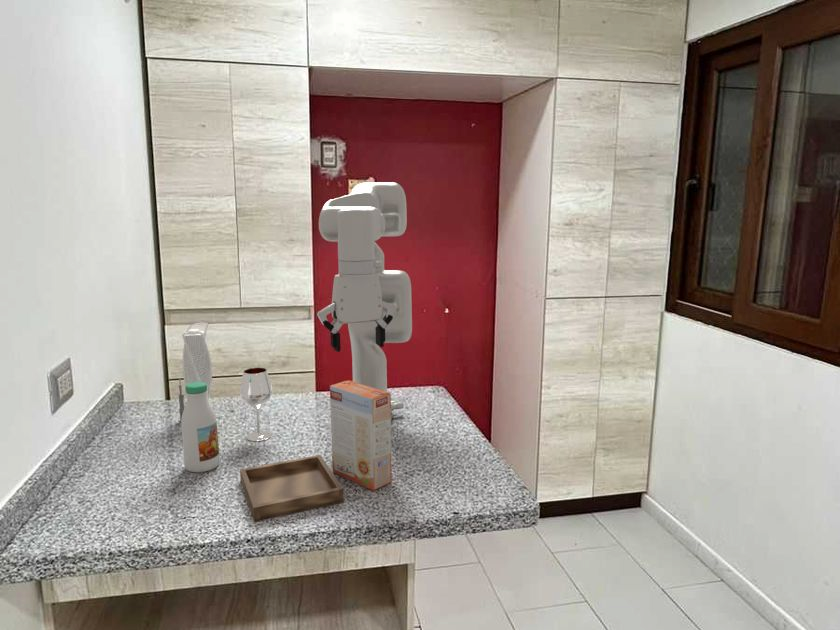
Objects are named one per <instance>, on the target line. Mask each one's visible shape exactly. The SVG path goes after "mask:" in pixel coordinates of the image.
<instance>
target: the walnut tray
mask: <svg viewBox="0 0 840 630" xmlns="http://www.w3.org/2000/svg"><path fill="white" fill-rule="evenodd" d="M239 473H240V474H239V475H240V483H241V486H242V490H243V492H244V495H245V498H246V501H247V505H248V508H249V510H250V514H251V516H252V519H253V520H252V521H253V522H254V523H257V522H261V521H267V520H269V519H275V518H279V517H280V518H281V517H283V516H287V515H292V514H293V515H294V514H297V513H302V512H307V511H311V510H315V509H320V508H325V507H329V506H333V505H337V504H342V503H345V500H344V498H345V497H344V496H345V494H344V488H343V486H342V485H341V483H340V481H339V480H338V479H337V477H336V476H335V474H334V472H333V470H331V468H330V466H329V465H328V464H327V462H326V461H325V459H324V458H323V456H322V455H321V454H317V455H311V456H307V457H301V458H295V459H290V460H285V461H284V460H283V461H279V462H274V463H268V464H263V465H256V466H252V467H251V466H250V467H247V468H242V469H241V468H240V469H239Z"/></svg>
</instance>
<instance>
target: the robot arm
mask: <svg viewBox="0 0 840 630" xmlns="http://www.w3.org/2000/svg"><path fill="white" fill-rule="evenodd" d="M407 211H408V210H407V197H406V193H405V190H404V188H403V186H401V185H400V184H399V183H397V182H362V183H358V184H356V185H355V186H354V187H353V188H352V189H351V190H350V193H349V194H347V195H343V196H340V197H336V198H334V199H329V200H328V201H326V202H325V203H324V205H323V206H322V208H321V211H320V213H319V218H318V231H319V234H320V235H321V237H322V239H324V240H325V241H327V242H337V259H338V262H337V263H338V274H335V275H334V276H333V277H334V278H333V285H332V295H331V304H329V305H327V306H325V307H324V308H322V309H320V310H319V311H317V313H316V316H317V317H318V319H319V321H320V322H321V325H323V326H324V327H325V328H326V329H327V330H328V331H329V333H330V347H331V348H332V349H333V351H335V352H337V353H340V352H341V349H342V348H341V333H340V332H339V331H340V329H341V327H342V326H344V324H347V327H348V328H347V329H348V334H349V339H350V346H351V348H350V349H351V358H352V359H351V360H352V361H351V362H352V363H351V364H352V367H351V368H352V381H353V382H356V383H359V384H362V385H366V386H369V387H372V388H376V389H379V390H382V391H385V392H388V378H387V377H388V376H387V375H388V373H387V372H388V371H387V367H388V366H387V357H386V354H385V352H384V350H383V349H382V348H384V345H385V344H390V343H391V344H399V343H407V342H408V341H410V339H411V337H412V333H413V315H412V313H413V311H412V309H413V308H412V306H413V305H412V283H411V278H410V276H409V274H408V273H407V272H406V271H404V270H399V269H396V270H395V269H392V270H391V269H387V270H386V269H385V253H384V252H383V249H381V247H380V246H379V245H378V244H377V242H376V241H378V240H380V239H381V238H382V237H400V236H402V235H403V234H404V233H406V232H405V231H406V229H407V223H408V222H407V221H408V218H407ZM329 314H331V317H332V319H333V321H332V322H330V321H329V320H328V318H327V316H328V315H329ZM401 409H402V410H403V409H404V403H403V401H398V402H396V400H391V421H392V419H393V416H394V413H393V412H394V410H401Z"/></svg>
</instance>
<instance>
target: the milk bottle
mask: <svg viewBox="0 0 840 630" xmlns="http://www.w3.org/2000/svg"><path fill="white" fill-rule="evenodd" d="M184 387H185V395H186V403H185V408H184V411H183V414H182V419H181V422H180V424H181V437H182V438H181V440H182V441H181V442H182V452H183V463H184V468H185V470H186V471H187V472H190V473H204V472H209V471H213V470H214V469H216V468H217V467H218V466H219V465H220V461H221V460H220V459H221V458H220V447H219V434H218V433H219V432H218V425H217V424H218V423H217V416H216V412H215V410H214V408H213V407H212V404H211V403H210V400H209V401H208V399H207V395H206V393H207V384H206V383H205V382H193V383H189V384H187V385H186V386H185V385H184Z"/></svg>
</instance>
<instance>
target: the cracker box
mask: <svg viewBox="0 0 840 630" xmlns="http://www.w3.org/2000/svg"><path fill="white" fill-rule="evenodd" d="M391 394H392V393H391V392H388V391H387V392H385V391H382V390H379V389H376V388H372V387H369V386H366V385H362V384H359V383H356V382H353V380H344V381H341V382H337V383H334V384H331V385H329V396H330V397H329V398H330V403H329V404H330V429H331V431H330V432H331V433H330V434H331V435H330V436H331V459H332V460H331V463H332V467H331V468H332V473H335V474H337V475H338V476H339V475H340V476H341V477H343V478H346V479H348V480H350V481H352V482H353V483H356V484H357V485H360V486H363V487H364V488H367V489H369V490H370V491H373V492H374V491H376V490H378V489H380V488H382V487H385V486H387V485H389V484H391V483H392V480H393V479H392V420H391V412H392V411H391V401H392V400H391V398H392V397H391Z"/></svg>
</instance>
